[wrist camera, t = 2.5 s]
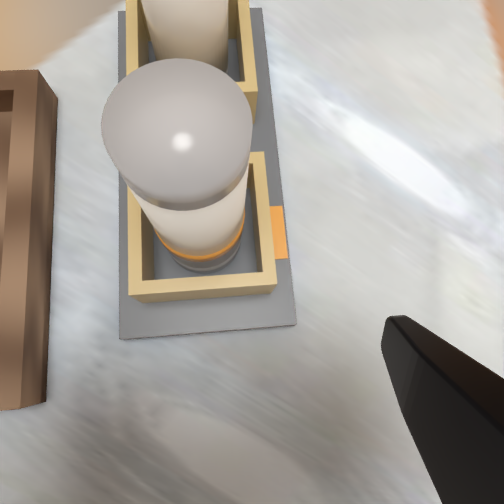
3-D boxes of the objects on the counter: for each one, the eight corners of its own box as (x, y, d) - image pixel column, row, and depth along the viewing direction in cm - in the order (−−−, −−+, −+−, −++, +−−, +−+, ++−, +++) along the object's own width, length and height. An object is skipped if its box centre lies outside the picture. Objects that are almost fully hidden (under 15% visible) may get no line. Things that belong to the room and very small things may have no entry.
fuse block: (293, 325, 21) (307, 319, 17) (124, 339, 21) (100, 337, 17) (260, 20, 26) (265, -38, 22) (122, 24, 25) (103, -36, 21)
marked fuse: (245, 271, 21) (260, 188, 10) (166, 277, 20) (98, 198, 10) (239, 199, 22) (248, 54, 11) (164, 203, 21) (99, 58, 11)
